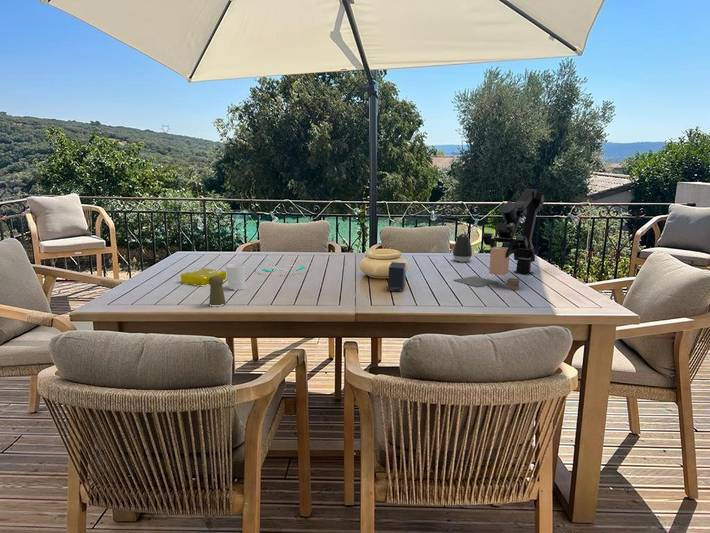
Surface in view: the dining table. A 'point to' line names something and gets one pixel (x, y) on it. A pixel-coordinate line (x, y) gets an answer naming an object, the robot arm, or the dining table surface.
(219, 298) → the cork
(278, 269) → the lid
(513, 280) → the stub post
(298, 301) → the dining table surface
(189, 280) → the element tile
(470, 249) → the dark grey rounded vessel
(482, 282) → the rubber mat
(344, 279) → the dining table surface
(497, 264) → the tan rectangular block
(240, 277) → the white cup
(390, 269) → the small box
